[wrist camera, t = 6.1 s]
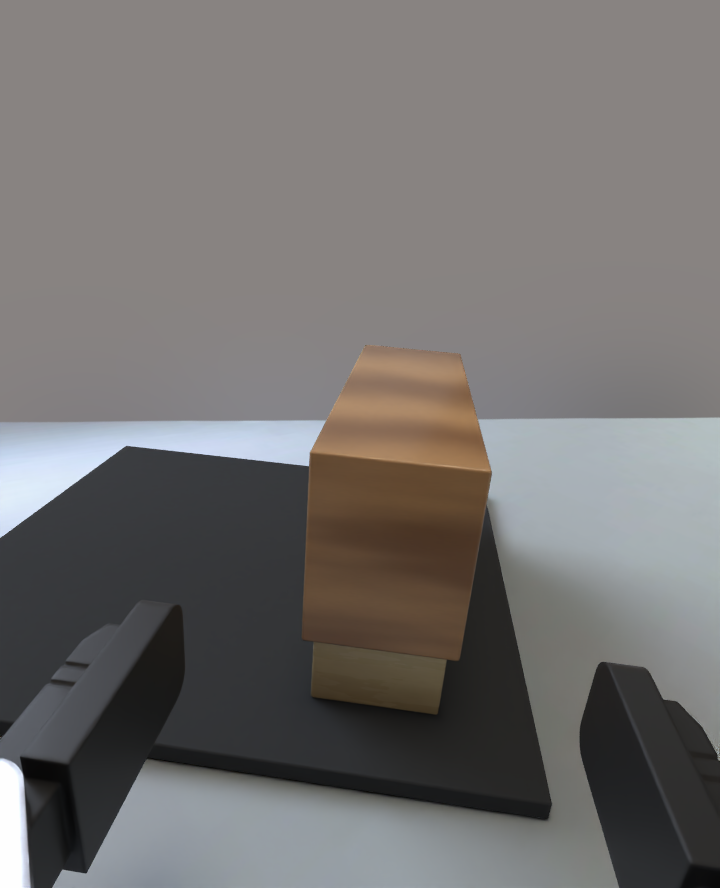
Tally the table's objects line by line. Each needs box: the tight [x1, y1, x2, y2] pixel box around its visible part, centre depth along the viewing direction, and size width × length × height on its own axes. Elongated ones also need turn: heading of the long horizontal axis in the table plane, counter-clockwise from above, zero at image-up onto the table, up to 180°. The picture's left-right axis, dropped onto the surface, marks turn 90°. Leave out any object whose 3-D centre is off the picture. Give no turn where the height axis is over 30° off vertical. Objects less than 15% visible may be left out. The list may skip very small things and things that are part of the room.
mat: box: [0, 446, 552, 819], centre depth 25 cm, size 22×20×1 cm
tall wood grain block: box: [302, 345, 492, 715], centre depth 22 cm, size 14×5×8 cm, turn 174°
